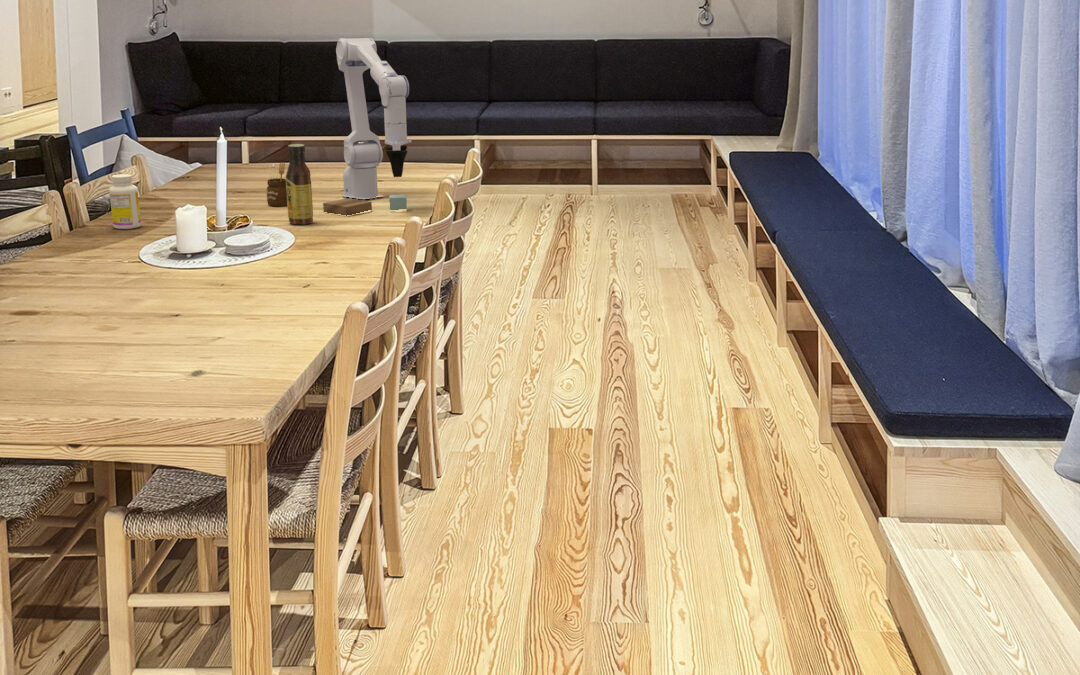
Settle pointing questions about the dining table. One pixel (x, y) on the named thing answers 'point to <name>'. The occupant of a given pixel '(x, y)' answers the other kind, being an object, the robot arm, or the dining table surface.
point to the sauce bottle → (298, 187)
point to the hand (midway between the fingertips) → (397, 174)
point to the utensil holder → (277, 189)
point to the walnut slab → (347, 206)
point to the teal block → (398, 202)
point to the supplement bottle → (124, 202)
